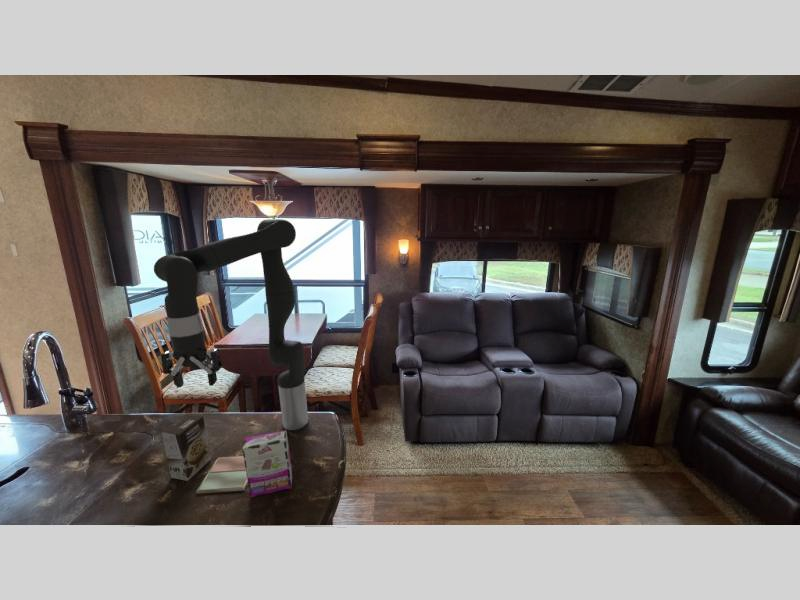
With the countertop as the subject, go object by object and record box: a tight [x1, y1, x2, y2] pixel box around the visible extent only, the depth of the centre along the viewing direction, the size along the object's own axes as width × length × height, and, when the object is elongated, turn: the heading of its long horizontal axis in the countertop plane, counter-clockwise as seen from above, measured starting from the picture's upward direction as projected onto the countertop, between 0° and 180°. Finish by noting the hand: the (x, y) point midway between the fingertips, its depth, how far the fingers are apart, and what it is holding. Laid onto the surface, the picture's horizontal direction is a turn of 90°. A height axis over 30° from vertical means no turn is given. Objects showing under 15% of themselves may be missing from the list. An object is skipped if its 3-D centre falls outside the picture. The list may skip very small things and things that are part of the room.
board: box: [195, 455, 248, 495], centre depth 95 cm, size 13×13×1 cm
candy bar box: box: [242, 429, 293, 498], centre depth 89 cm, size 11×5×16 cm, turn 106°
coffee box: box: [161, 414, 212, 482], centre depth 96 cm, size 9×6×16 cm
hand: (196, 385), depth 87 cm, fingers open, 8 cm apart
